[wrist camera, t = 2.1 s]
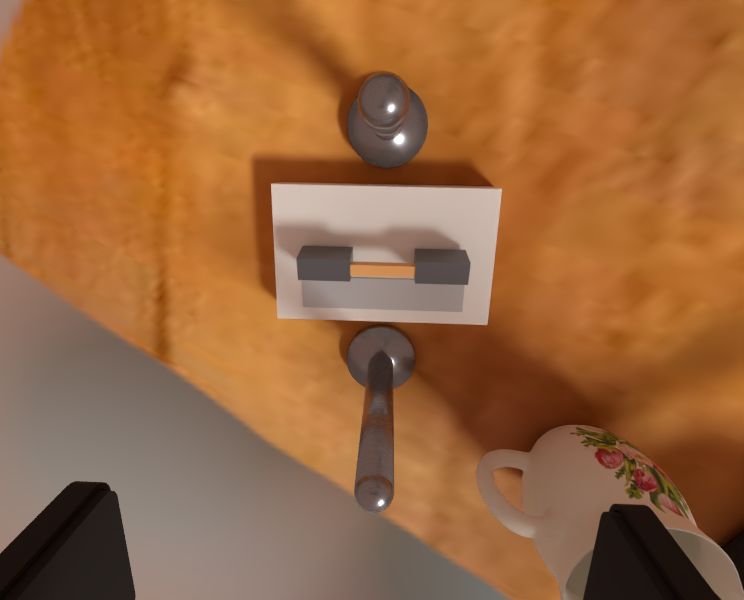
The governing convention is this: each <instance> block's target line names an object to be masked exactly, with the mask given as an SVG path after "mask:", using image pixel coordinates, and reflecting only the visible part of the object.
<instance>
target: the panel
mask: <svg viewBox="0 0 744 600" xmlns="http://www.w3.org/2000/svg"><path fill="white" fill-rule="evenodd" d="M501 193H502V189H500V188H497V187H491V186H445V185H399V184H354V183H308V182H277V183H273V184H271V195H272V215H273V235H274V255H275V275H276V296H277V316H278V318H287V319H318V320H349V321H380V322H412V323H443V324H474V325H488V316H489V307H490V297H491V288H492V278H493V269H494V259H495V250H496V241H497V231H498V222H499V212H500V203H501ZM302 246H339V247H353V261H355V262H391V263H414V251H415V249H451V250H466V252H467V255H468V257H469V260H470V263H471V265H470V273H469V281H468V285H448V284H415V281H414V278H413V277H378V276H351V280H350V282H346V281H312V280H298V274H297V261H296V258H297V256H298V254H299V252H300V250H301V248H302Z"/></svg>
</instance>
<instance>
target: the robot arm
mask: <svg viewBox="0 0 744 600" xmlns="http://www.w3.org/2000/svg"><path fill="white" fill-rule="evenodd" d="M0 600H135V590H134V585H133V578H132V573H131V567H130V562H129V557H128V552H127V546H126V540H125V535H124V529H123V524H122V519H121V513H120V508H119V502H118V497H117V494H116V493H115V492H114V491H111V490H110V487H109V485H108V484H107V483H103V482H80V481H76V482H73V483H71V484H69V485H68V486H67V487H66V488H65V489H64V490H63V491H62V492H61V493H60V494H59V495H58V496H57V497H56V498H55V499H54V500H53V501H52V502H51V503H50V504H49V505H48V506H47V507H46V508H45V509H44V510H43V511H42V512H41V513H40V514H39V515H38V516H37V517H36V518H35V519H34V520H33V521H32V522H31V523H30V524H29V525H28V526H27V527H26V528H25V529H24V530H23V531H22V532H21V533H20V534H19V535H18V536H17V537H16V538H15V539H14V540H13V541H12V542H11V543H10V544H9V545H8V546H7V547H6V549H4V551H2V552H1V554H0ZM583 600H721V599H720V597H719V596H718V595H717V594H716V593H715V592H714V591H713V590H712V588H711V587H710V586H709V584H708V583H707V582H706V580H705V579H704V578H703V576H702V575H701V574H700V573H699V571H698V570H697V569H696V567H695V566H694V565H693V563H692V562H691V561H690V559H689V558H688V557H687V555H686V554H685V553H684V551H683V550H682V549H681V547H680V546H679V545H678V543H677V542H676V541H675V539H674V538H673V537H672V535H671V534H670V533H669V531H668V530H667V529H666V527H665V526H664V525H663V523H662V522H661V521H660V520H659V518H658V517H657V516H656V514H655V513H654V512H653V510H652V509H651V508H650V507H648V506H646V505H637V504H613V505H612V506H611V507H610V509H609V512H603V513H602V514H601V517H600V522H599V527H598V531H597V536H596V541H595V545H594V550H593V555H592V559H591V564H590V569H589V573H588V578H587V583H586V587H585V592H584V597H583Z"/></svg>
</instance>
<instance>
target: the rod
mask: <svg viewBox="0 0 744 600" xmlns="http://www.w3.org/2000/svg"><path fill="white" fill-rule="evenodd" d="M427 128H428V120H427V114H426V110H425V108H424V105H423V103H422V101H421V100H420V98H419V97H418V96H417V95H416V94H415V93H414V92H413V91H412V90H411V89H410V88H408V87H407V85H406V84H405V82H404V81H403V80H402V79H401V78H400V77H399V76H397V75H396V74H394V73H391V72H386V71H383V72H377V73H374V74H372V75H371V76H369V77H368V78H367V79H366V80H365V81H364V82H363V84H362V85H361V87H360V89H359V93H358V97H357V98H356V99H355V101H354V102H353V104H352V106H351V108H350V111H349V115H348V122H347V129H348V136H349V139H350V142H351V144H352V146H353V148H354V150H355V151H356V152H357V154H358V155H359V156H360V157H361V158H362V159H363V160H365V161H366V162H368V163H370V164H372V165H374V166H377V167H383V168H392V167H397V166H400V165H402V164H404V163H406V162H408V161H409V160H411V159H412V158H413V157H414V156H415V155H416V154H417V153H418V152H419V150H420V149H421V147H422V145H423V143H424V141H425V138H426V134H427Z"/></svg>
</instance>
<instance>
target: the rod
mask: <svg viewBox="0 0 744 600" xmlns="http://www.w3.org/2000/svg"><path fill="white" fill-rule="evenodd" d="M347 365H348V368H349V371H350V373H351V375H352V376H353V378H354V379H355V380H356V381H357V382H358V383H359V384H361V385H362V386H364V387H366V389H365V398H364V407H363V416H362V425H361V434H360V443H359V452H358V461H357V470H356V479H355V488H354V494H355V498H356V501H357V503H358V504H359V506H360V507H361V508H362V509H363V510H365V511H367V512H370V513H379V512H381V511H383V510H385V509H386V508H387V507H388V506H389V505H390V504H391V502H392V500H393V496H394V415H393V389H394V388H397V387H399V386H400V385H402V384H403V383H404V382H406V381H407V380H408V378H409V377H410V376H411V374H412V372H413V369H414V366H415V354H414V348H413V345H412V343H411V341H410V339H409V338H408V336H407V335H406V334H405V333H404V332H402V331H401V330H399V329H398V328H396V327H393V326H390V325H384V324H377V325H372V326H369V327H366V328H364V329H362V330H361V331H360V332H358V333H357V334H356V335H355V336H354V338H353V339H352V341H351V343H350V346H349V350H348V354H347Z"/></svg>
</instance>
